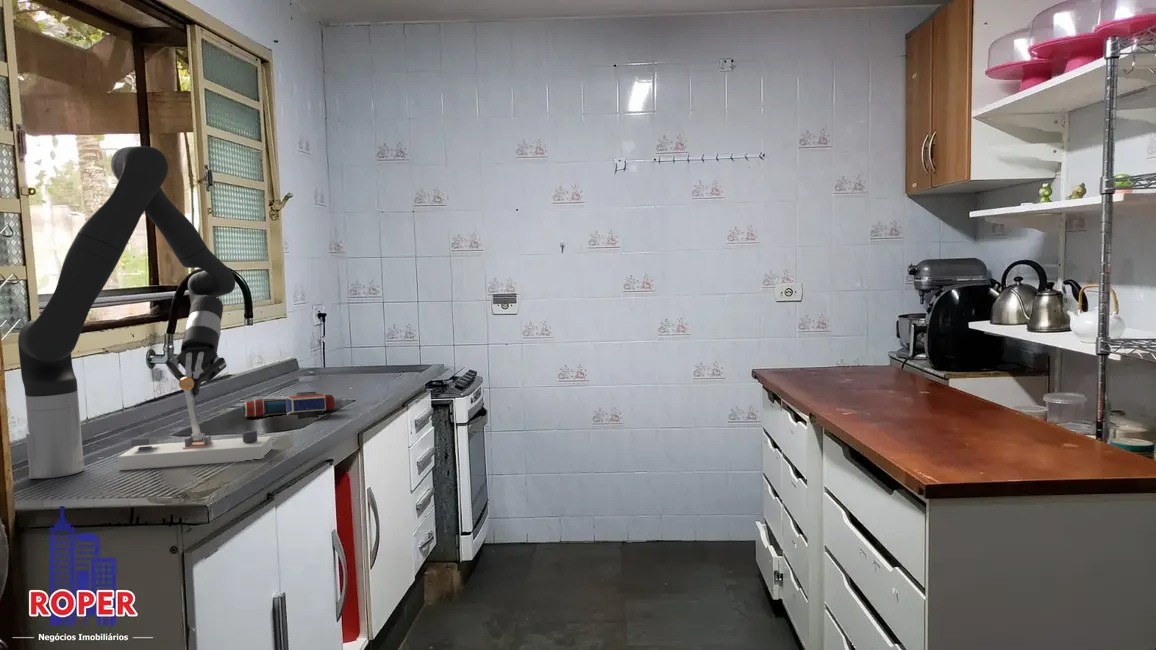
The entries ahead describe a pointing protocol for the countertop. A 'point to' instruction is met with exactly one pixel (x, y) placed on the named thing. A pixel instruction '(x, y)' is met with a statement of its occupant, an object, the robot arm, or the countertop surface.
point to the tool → (291, 405)
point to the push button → (249, 436)
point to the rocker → (144, 442)
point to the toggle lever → (191, 409)
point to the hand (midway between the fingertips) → (190, 395)
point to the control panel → (194, 453)
